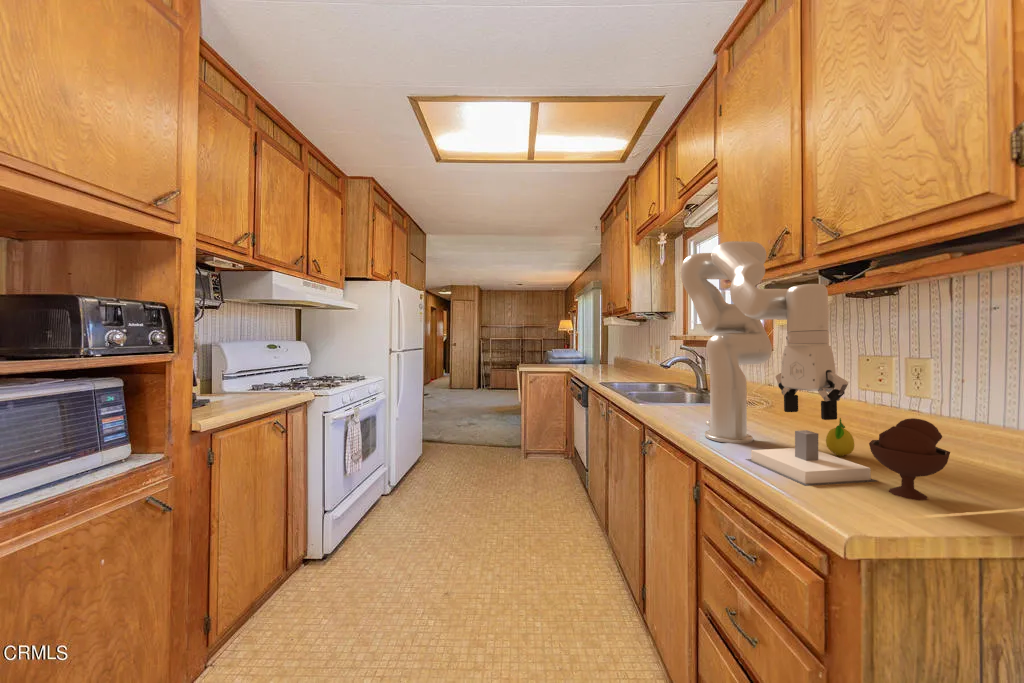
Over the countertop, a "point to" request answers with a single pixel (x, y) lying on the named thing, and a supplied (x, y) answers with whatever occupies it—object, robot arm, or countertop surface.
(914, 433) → the ice cream bowl
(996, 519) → the countertop surface
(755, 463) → the mat
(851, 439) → the lemon
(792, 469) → the lid
